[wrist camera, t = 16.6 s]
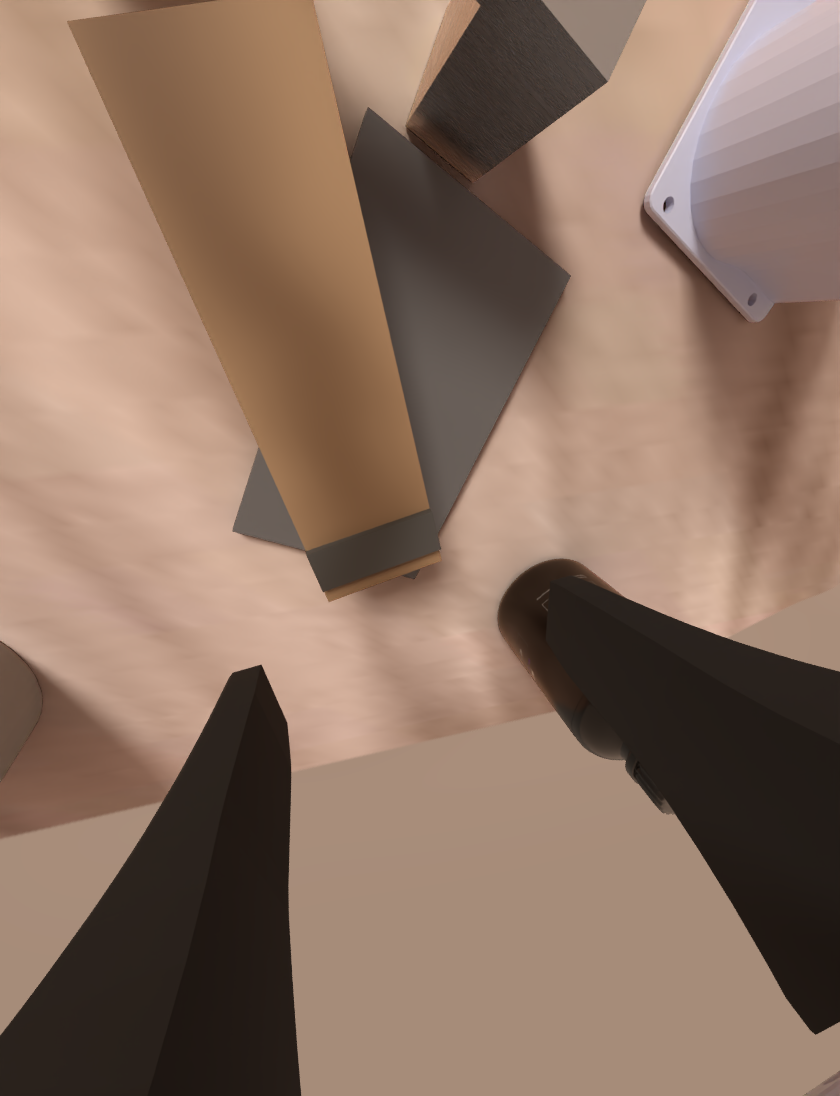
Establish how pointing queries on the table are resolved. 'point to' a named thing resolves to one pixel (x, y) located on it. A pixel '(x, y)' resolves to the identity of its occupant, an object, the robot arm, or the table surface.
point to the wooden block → (275, 262)
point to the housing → (513, 73)
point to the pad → (435, 316)
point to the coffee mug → (16, 705)
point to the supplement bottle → (527, 638)
